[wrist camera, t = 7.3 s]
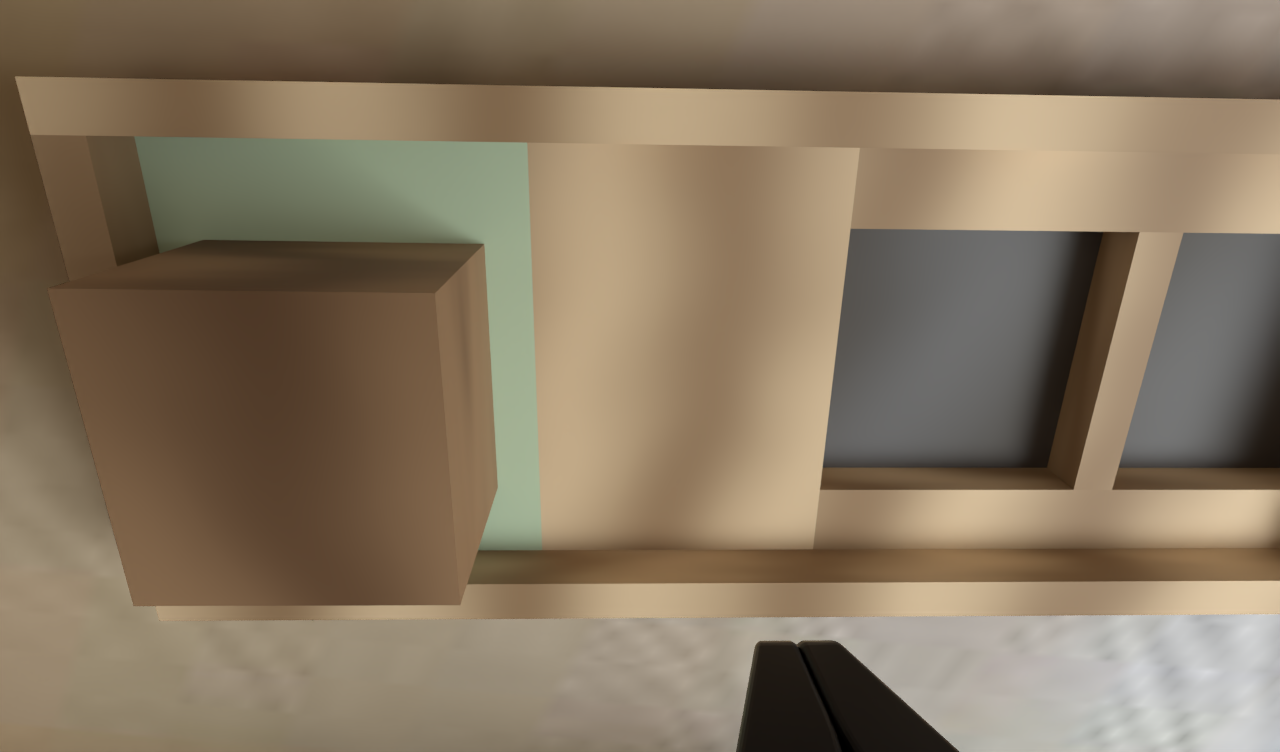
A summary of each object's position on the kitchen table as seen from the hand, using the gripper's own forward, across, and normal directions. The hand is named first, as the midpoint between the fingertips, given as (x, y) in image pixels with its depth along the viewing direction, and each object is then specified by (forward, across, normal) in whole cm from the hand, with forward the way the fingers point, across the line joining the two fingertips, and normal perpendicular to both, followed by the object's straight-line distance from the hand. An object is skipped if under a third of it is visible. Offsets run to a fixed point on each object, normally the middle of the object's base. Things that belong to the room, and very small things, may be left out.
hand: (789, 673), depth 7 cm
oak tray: (+12, -2, 0) cm, 12 cm away
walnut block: (+10, +8, 0) cm, 13 cm away
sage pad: (+12, +8, 0) cm, 14 cm away
